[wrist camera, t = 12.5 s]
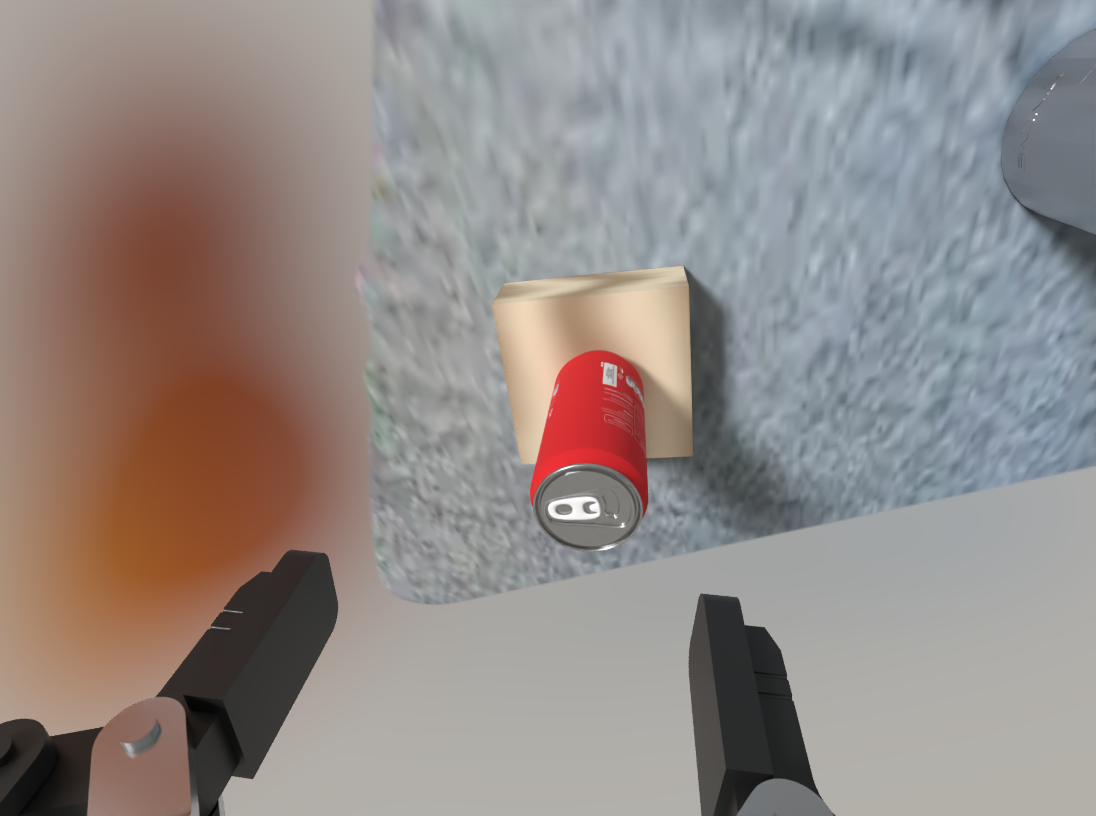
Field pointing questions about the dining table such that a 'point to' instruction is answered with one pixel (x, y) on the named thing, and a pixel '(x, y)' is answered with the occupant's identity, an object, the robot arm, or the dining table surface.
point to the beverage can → (592, 455)
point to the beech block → (599, 347)
